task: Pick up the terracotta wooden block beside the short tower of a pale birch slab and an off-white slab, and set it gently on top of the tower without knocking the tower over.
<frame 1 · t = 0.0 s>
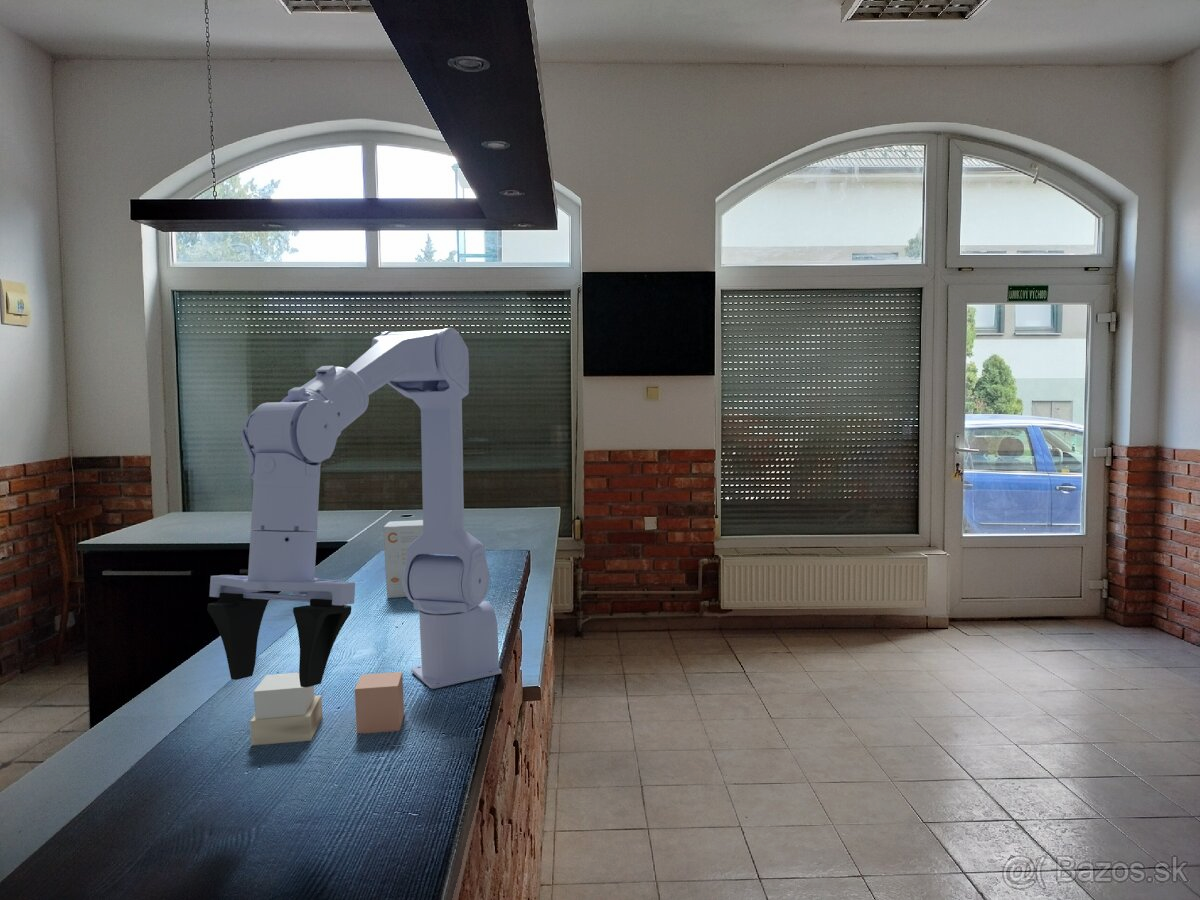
hand: (275, 681, 73), 11 cm above the table, tool pointing down, fingers open, 7 cm apart
tower top slab: (286, 708, 88), point 3 cm above the table, touching tower base slab
terracotta block: (381, 724, 89), on the table
small box: (411, 594, 148), on the table
tower base slab: (288, 734, 88), on the table, touching tower top slab
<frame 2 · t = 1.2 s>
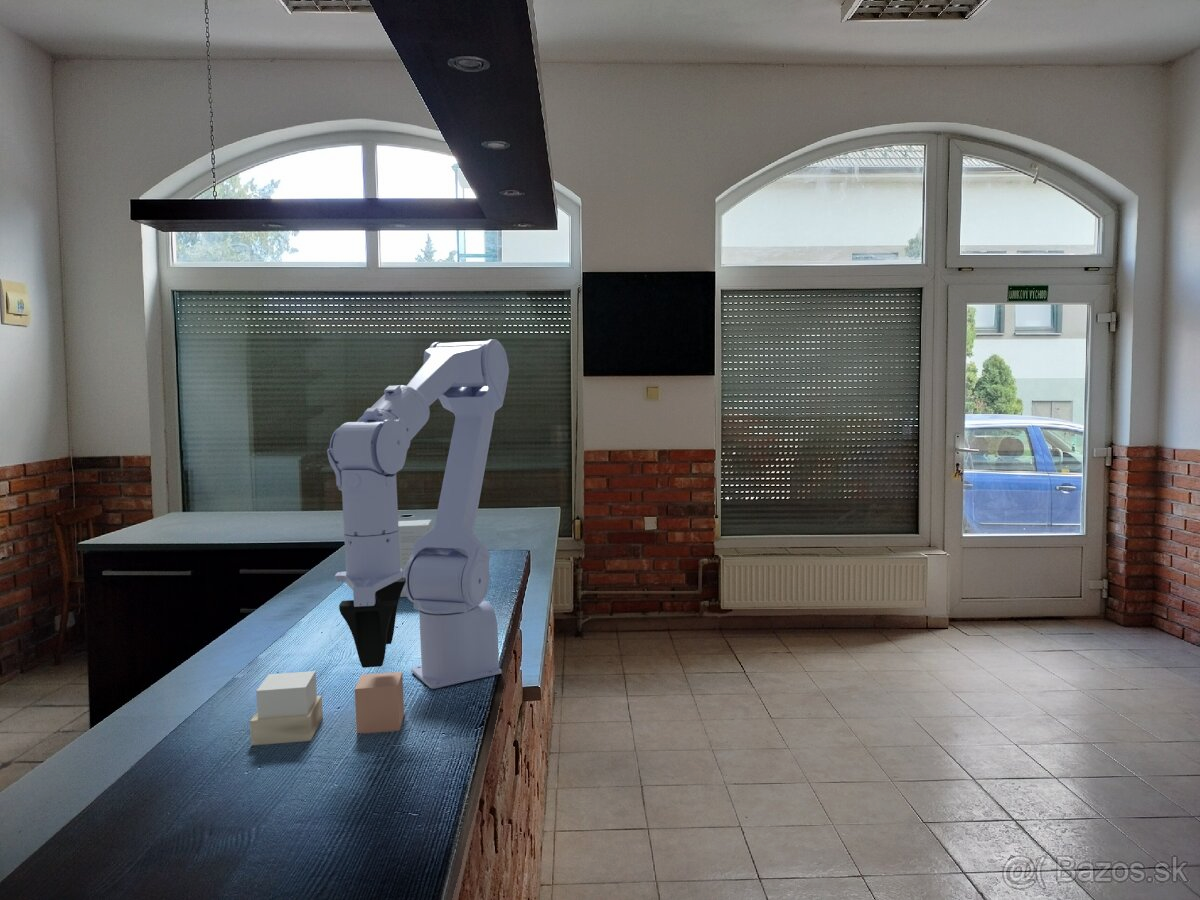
hand: (377, 654, 89), 8 cm above the table, tool pointing down, fingers open, 7 cm apart
nothing on the table moved.
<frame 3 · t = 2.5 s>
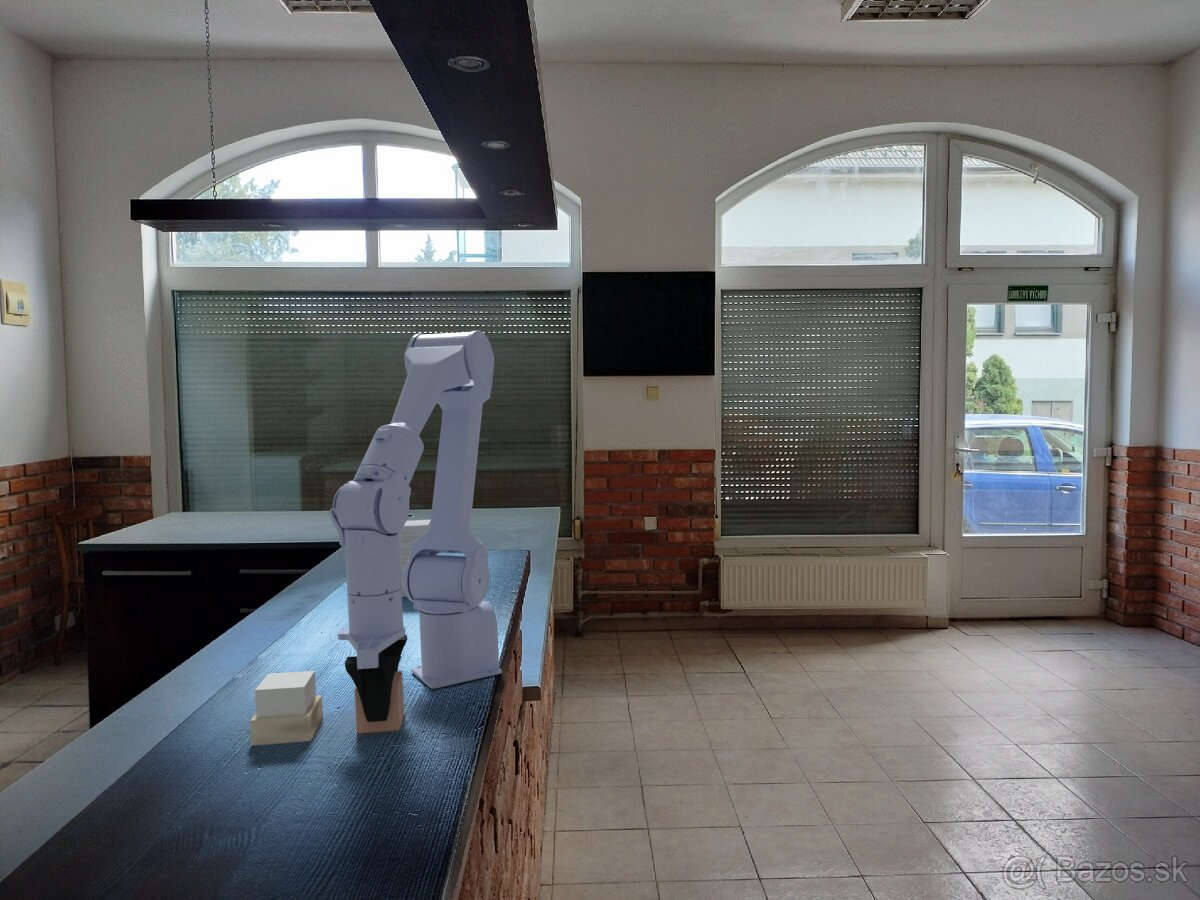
hand: (380, 710, 89), 1 cm above the table, tool pointing down, fingers closed on terracotta block, 4 cm apart
terracotta block: (381, 723, 89), on the table, touching gripper
everything else where it was.
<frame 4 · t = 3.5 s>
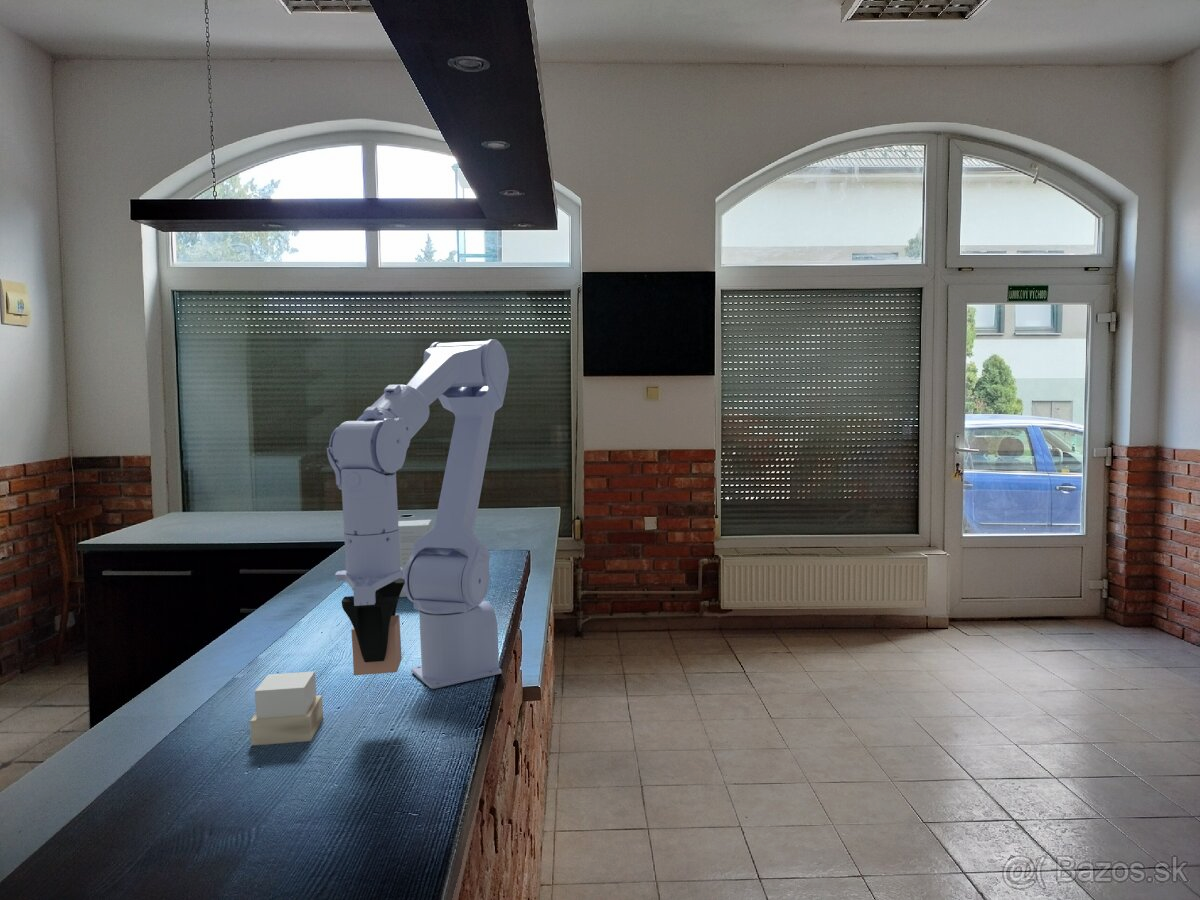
hand: (378, 653, 89), 8 cm above the table, tool pointing down, fingers closed on terracotta block, 4 cm apart
terracotta block: (378, 666, 89), point 6 cm above the table, touching gripper
everything else where it was.
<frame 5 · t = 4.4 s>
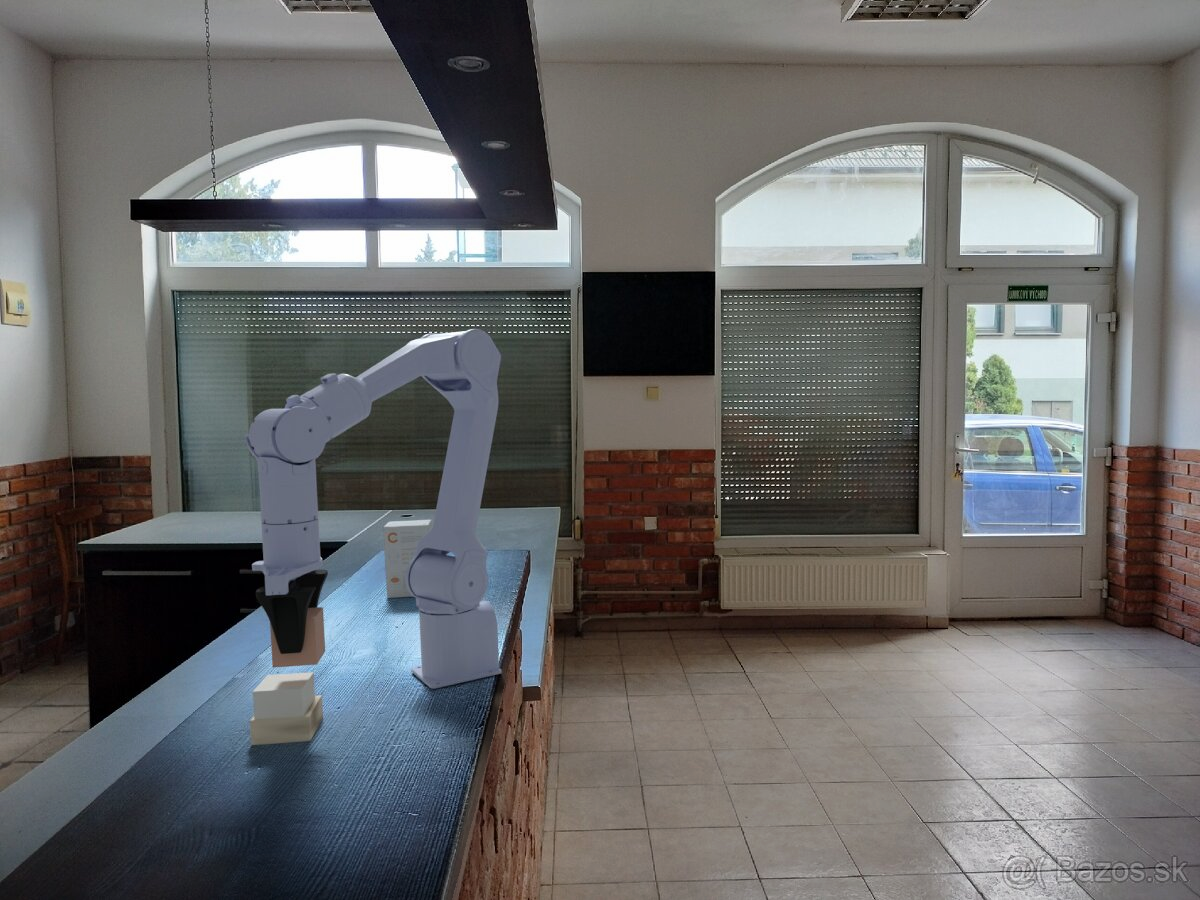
hand: (296, 644, 88), 9 cm above the table, tool pointing down, fingers closed on terracotta block, 4 cm apart
terracotta block: (299, 659, 88), point 8 cm above the table, touching gripper
everything else where it was.
when the fingers open (8 cm above the table, at t = 5.4 s): terracotta block drops 1 cm, resting on tower top slab.
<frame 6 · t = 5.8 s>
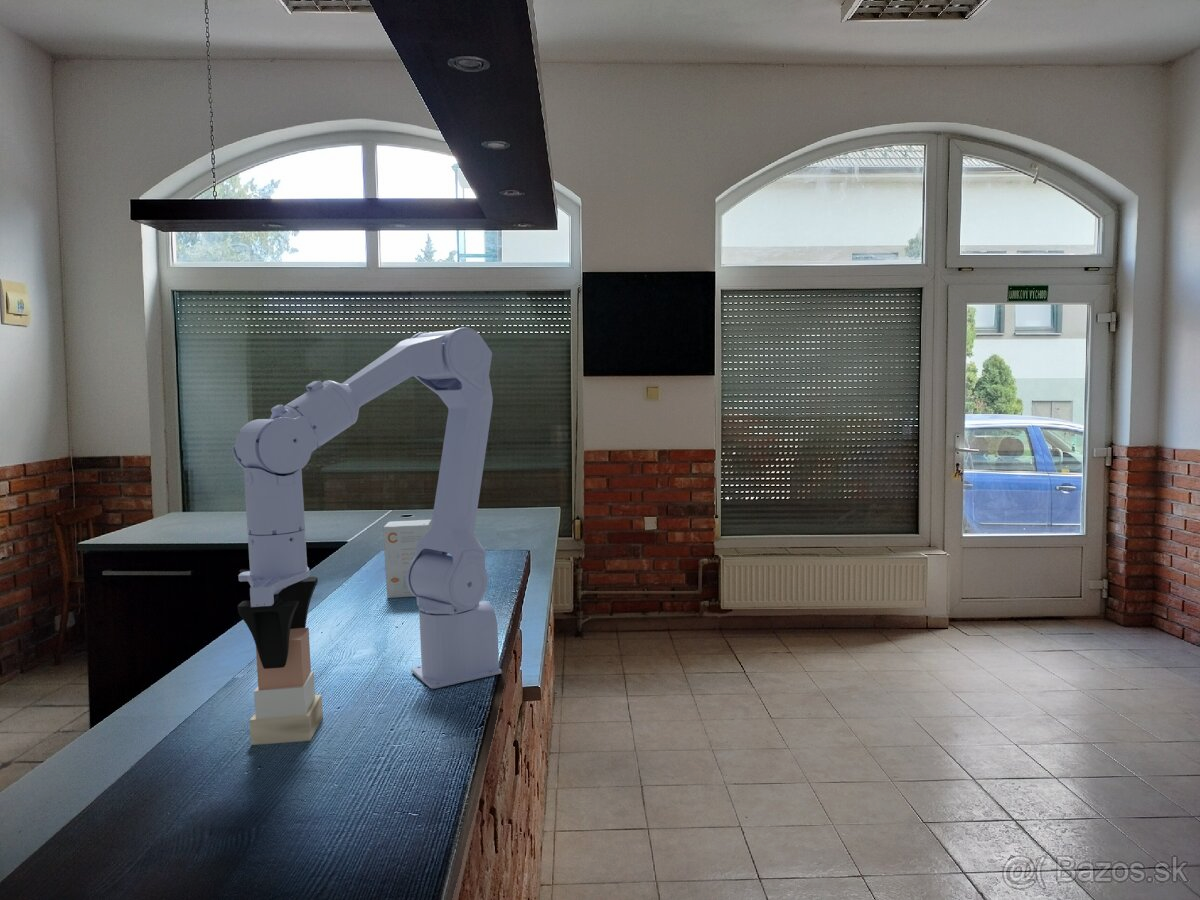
hand: (284, 655, 88), 8 cm above the table, tool pointing down, fingers open, 7 cm apart
tower top slab: (286, 707, 88), point 3 cm above the table, touching terracotta block
terracotta block: (285, 680, 88), point 6 cm above the table, touching tower top slab
tower base slab: (288, 733, 88), on the table
everything else where it was.
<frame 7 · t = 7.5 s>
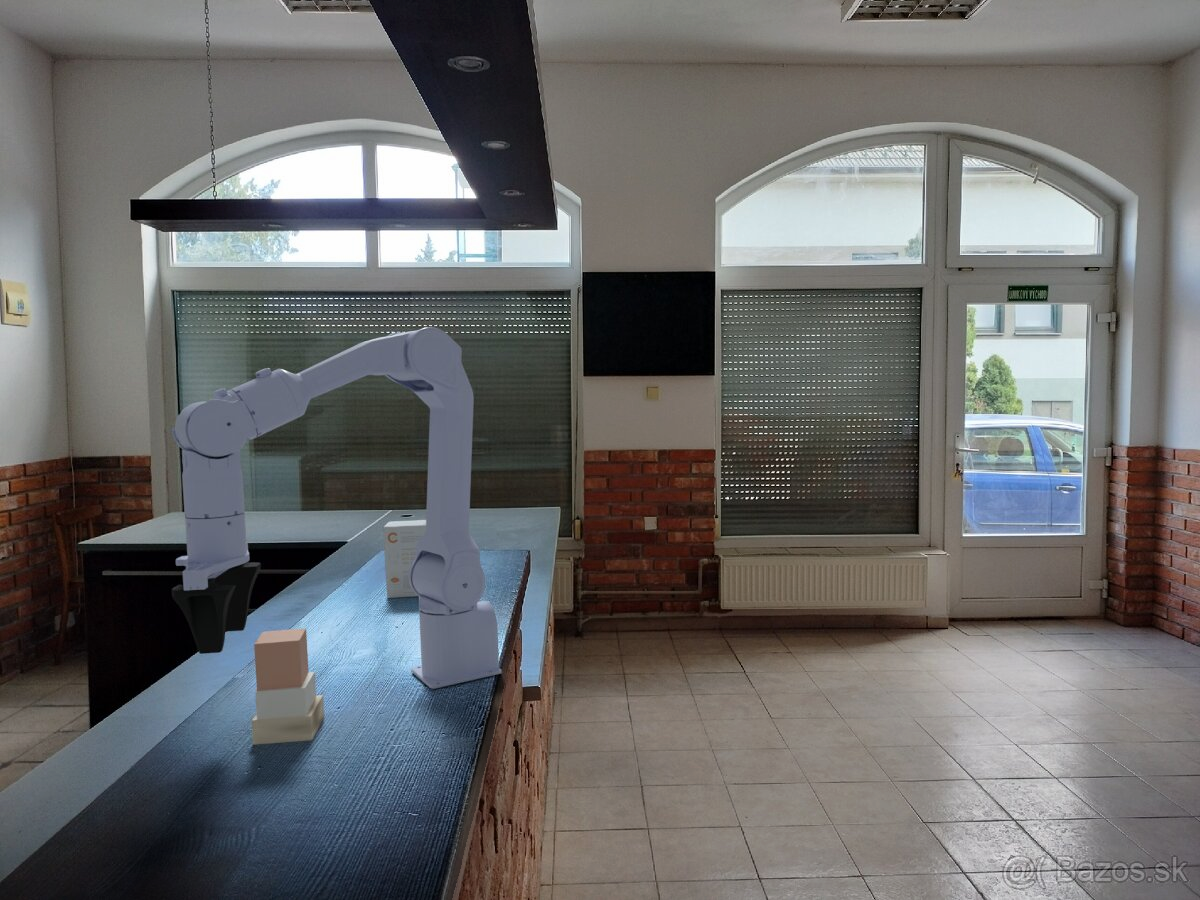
hand: (223, 640, 86), 10 cm above the table, tool pointing down, fingers open, 7 cm apart
tower top slab: (287, 708, 88), point 3 cm above the table, touching terracotta block, tower base slab
tower base slab: (290, 734, 88), on the table, touching tower top slab
everything else where it was.
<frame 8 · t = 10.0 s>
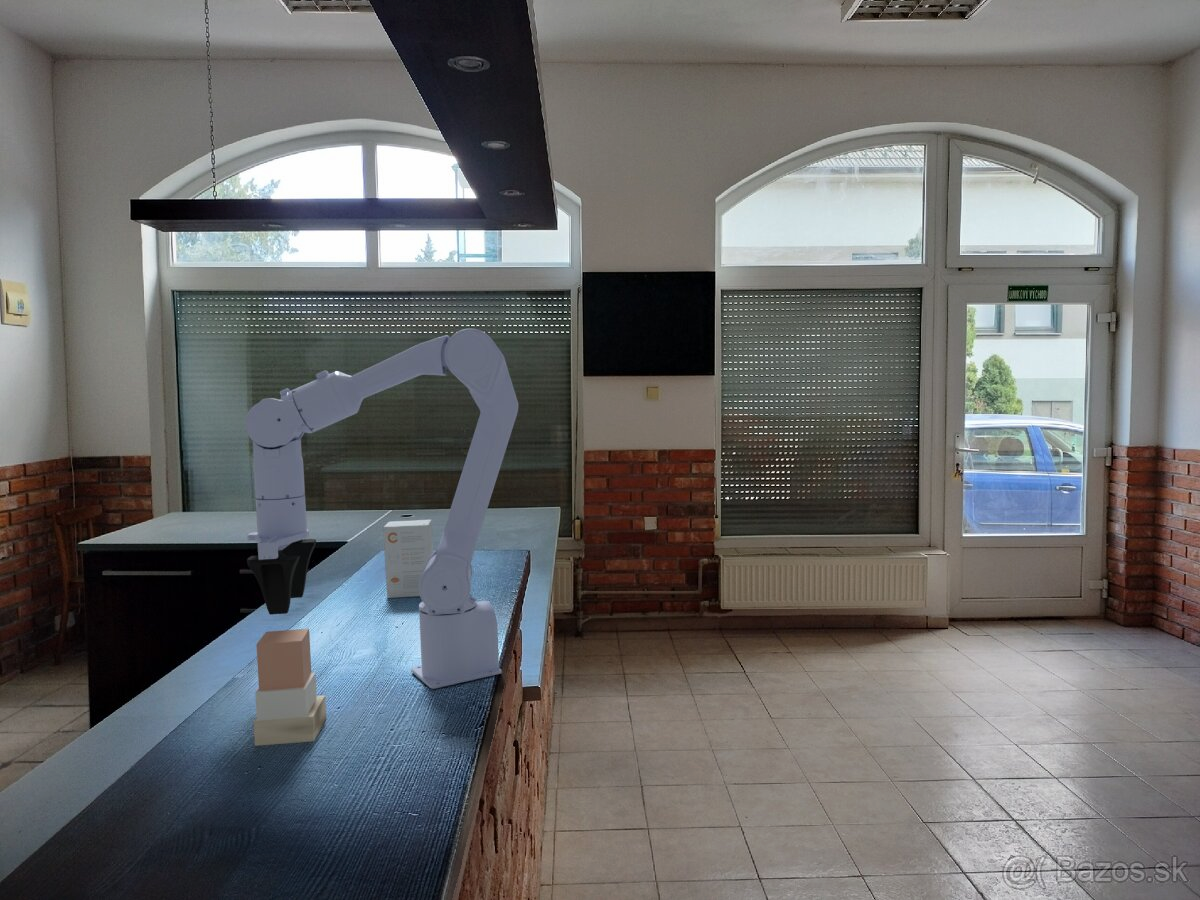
hand: (286, 605, 101), 10 cm above the table, tool pointing down, fingers open, 7 cm apart
nothing on the table moved.
at the end: terracotta block 0.4 cm off-centre on the tower top slab, point 3.0 cm above the tower top slab's base; tower top slab 0.5 cm off-centre on the tower base slab, point 3.0 cm above the tower base slab's base; tower base slab moved 0.6 cm from its start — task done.
